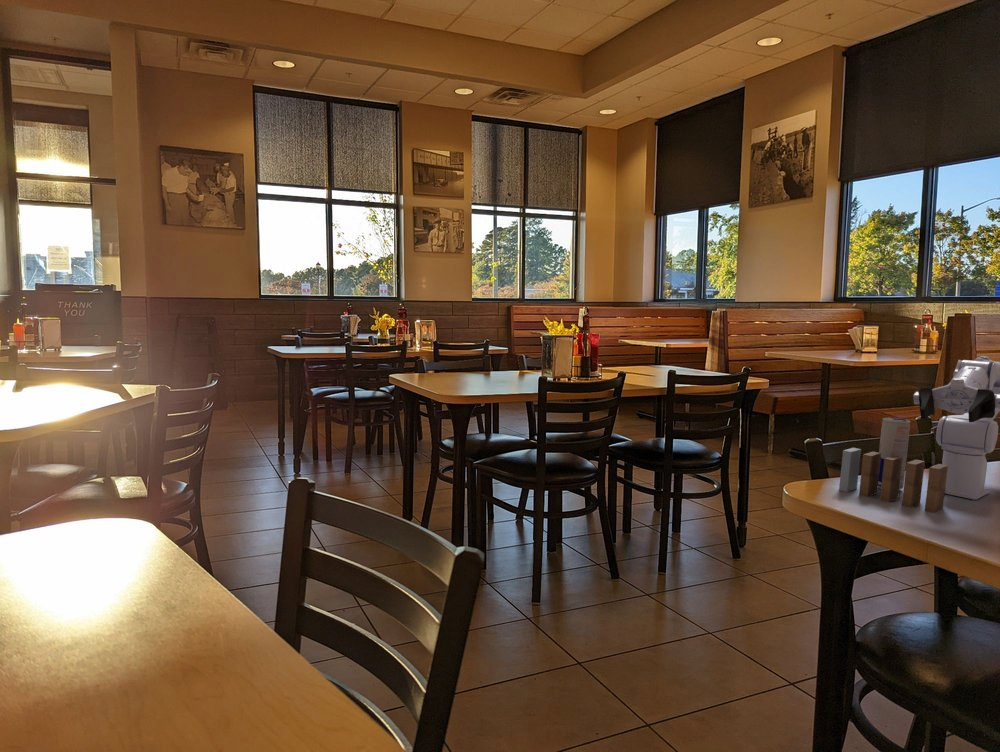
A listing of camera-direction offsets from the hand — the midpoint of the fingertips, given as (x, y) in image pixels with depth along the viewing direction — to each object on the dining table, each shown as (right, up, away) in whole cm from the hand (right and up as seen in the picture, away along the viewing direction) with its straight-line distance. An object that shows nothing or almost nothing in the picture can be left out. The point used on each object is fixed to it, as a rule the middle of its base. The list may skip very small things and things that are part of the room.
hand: (946, 415), depth 128 cm
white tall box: (-1, -17, +18) cm, 24 cm away
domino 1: (-10, -16, +16) cm, 25 cm away
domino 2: (-7, -17, +13) cm, 23 cm away
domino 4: (-2, -18, +7) cm, 19 cm away
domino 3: (-5, -17, +10) cm, 21 cm away
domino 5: (0, -18, +4) cm, 19 cm away
